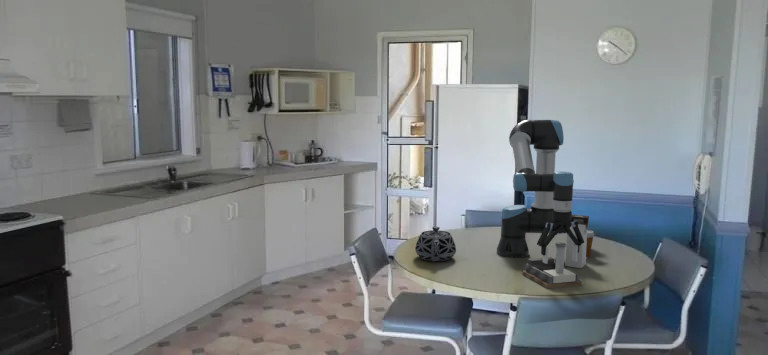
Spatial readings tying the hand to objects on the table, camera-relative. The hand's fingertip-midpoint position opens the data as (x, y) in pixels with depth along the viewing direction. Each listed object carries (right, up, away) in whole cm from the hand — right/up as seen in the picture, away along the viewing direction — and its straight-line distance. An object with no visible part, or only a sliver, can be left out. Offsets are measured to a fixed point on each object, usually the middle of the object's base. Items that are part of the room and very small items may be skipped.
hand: (559, 261), depth 255 cm
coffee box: (+26, -1, +61) cm, 67 cm away
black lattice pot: (-47, -4, +40) cm, 62 cm away
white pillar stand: (0, -7, +1) cm, 7 cm away
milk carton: (+15, -6, +28) cm, 33 cm away
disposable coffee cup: (+24, -3, +45) cm, 51 cm away
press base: (-2, -8, +7) cm, 11 cm away
